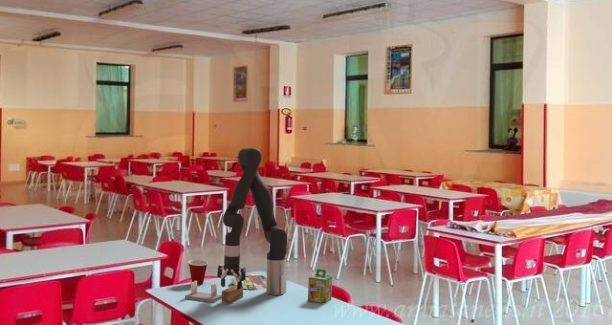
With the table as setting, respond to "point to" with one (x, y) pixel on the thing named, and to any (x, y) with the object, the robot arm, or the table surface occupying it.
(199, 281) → the plastic cup
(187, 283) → the table surface
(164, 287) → the table surface
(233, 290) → the brown wooden block
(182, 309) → the table surface
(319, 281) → the green yellow handled box
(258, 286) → the city model
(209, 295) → the peg rack
